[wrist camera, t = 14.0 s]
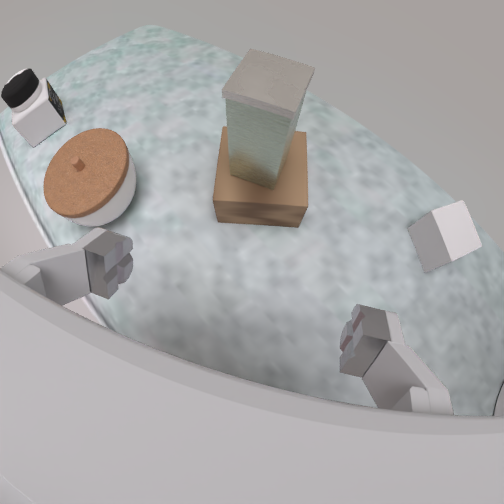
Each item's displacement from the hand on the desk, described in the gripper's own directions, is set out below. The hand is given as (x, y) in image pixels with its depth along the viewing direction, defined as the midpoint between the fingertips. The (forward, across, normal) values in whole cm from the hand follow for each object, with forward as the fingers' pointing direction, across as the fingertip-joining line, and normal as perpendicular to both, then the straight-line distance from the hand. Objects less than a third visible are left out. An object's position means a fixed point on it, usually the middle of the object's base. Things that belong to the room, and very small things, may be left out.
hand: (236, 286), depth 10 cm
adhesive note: (+26, -20, +6) cm, 33 cm away
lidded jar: (+21, +21, +9) cm, 31 cm away
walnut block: (+26, +3, +5) cm, 26 cm away
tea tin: (+21, +3, +1) cm, 21 cm away
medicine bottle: (+28, +41, +2) cm, 49 cm away
